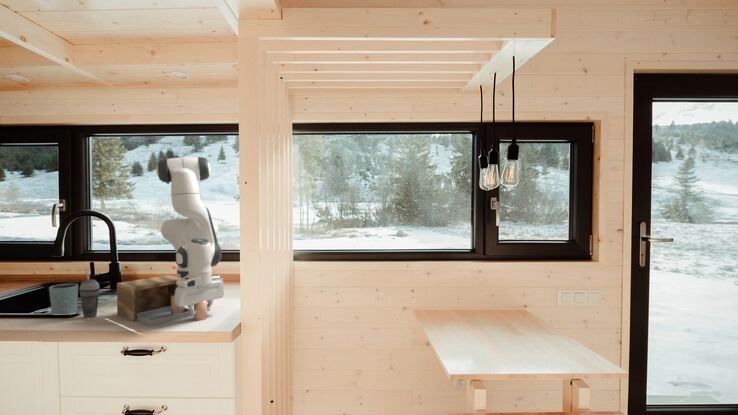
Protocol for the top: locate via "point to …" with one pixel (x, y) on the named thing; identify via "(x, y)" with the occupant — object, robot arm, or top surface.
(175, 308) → the peach glossy rounded part
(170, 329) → the top surface
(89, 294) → the beverage cup
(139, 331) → the top surface
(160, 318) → the tray
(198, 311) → the peach rounded capsule
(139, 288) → the open wooden box
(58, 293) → the teal cup
